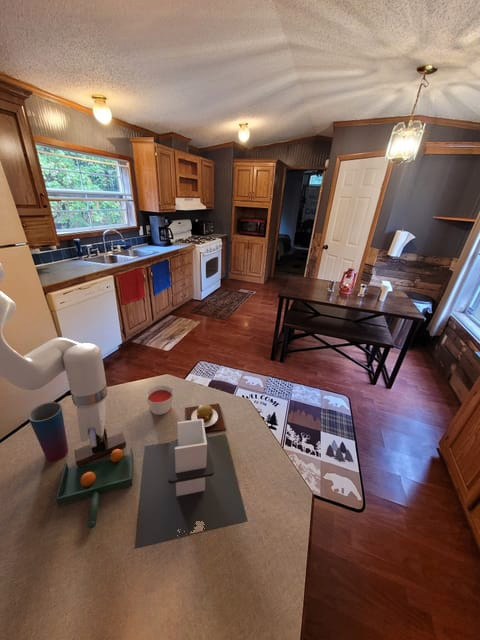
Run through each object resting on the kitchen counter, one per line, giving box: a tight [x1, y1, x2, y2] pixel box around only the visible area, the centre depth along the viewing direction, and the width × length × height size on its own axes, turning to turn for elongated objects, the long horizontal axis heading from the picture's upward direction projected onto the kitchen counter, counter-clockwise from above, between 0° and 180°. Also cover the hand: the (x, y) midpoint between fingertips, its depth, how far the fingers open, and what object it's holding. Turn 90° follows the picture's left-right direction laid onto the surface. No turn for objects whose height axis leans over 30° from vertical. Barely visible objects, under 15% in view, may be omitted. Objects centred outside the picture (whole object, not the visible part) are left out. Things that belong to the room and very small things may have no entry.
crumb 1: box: [81, 472, 96, 487], centre depth 62 cm, size 3×3×3 cm
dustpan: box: [55, 447, 134, 530], centre depth 61 cm, size 17×16×3 cm
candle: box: [145, 384, 175, 416], centre depth 87 cm, size 9×9×6 cm
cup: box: [27, 401, 69, 462], centre depth 67 cm, size 7×7×15 cm
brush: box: [74, 431, 127, 467], centre depth 69 cm, size 4×12×8 cm, turn 124°
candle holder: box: [134, 419, 248, 549], centre depth 63 cm, size 25×24×16 cm
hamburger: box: [184, 403, 227, 434], centre depth 84 cm, size 12×12×6 cm
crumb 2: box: [109, 449, 124, 462], centre depth 69 cm, size 3×3×3 cm
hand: (100, 445), depth 69 cm, fingers closed on brush, 2 cm apart
